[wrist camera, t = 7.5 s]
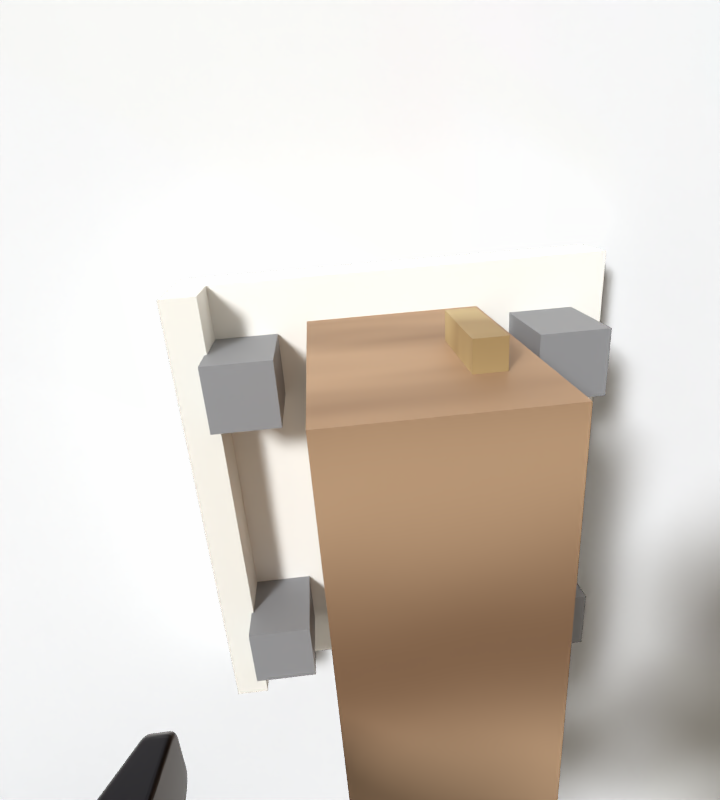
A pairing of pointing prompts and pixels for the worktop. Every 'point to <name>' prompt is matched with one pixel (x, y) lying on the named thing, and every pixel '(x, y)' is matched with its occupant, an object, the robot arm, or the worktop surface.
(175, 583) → the worktop surface
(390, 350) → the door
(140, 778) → the robot arm
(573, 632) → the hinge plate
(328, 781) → the worktop surface
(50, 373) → the worktop surface
